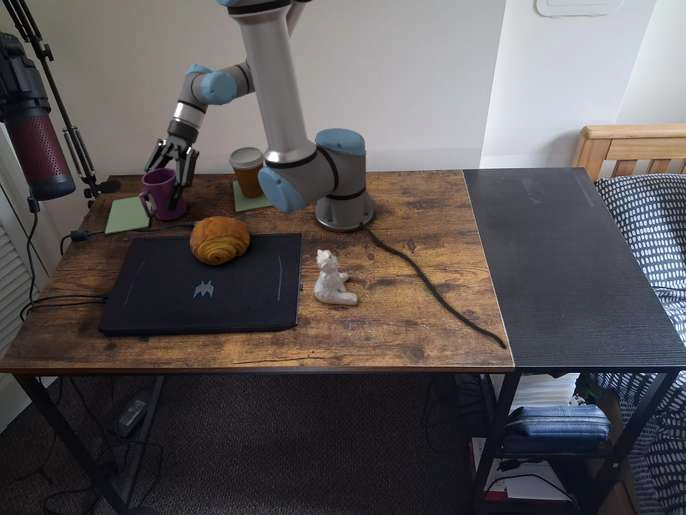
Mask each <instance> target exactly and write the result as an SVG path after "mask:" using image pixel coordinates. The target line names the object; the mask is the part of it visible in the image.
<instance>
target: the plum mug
mask: <svg viewBox="0 0 686 515" xmlns="http://www.w3.org/2000/svg"><path fill="white" fill-rule="evenodd" d="M141 183H142V186H143V188H144V189H145V191H144V190H143V192H140V193H139V194H138V197H139V198H140V201H141V203H142V206H143V208H144V211H145V213H146V216H147V217H148V218H150V219H151V217H153V216H155V218H156V219H158V220H161V221H172V220H175V219H179V218H180V217H182V216H183V215H184V214H186V212H187V211H188V205H187V201H186V198H185V196H184V192H183V193H182V196H181V198H180V200H178V203H177V206H176V209H175V211H171V210H168V209H165V206H166V204H167V201H168V198H169V195H170V192H171V189H172V186H173V185H174V183H176V170H175V169H173V168H170V167H165V168H160V169H155V170H152V171H150V172H148V173H146V172H145V173H144V175H143V176H142V177H141ZM175 186H176V185H175ZM146 195H147V196H148V199H149V201H150V204H151V206H152V208H151V212H150V211H149V209H148V206H147V203H146V201H145V198H144V197H145V196H146Z"/></svg>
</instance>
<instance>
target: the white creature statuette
mask: <svg viewBox="0 0 686 515" xmlns="http://www.w3.org/2000/svg"><path fill="white" fill-rule="evenodd" d="M331 252H332V251H330V250H329V249H327V250H326V249H324V250H321V249H317V256H316V257H315V259H316V260H317V262H316V265H317V266H318V269H319V270H320V272H319V273H318V274H319V276H318V278H317V280H316V282H315V285H314V286H313V293H314V296H315V298H316V299H318V300H319V301H320V302H322V303H324V304H329V305H330V304H335V305H346V306H347V305H348V306H355V305H356V306H357V304H358V295H357V294H355V293H352V292H350V291H347V288H346V286H345V284H344V283H345V282H347V280H349V274H348V273H347V272H346V271H345V272H340V271H339V270H338V268H339V267H340V263H339V261H338V257H337V256H335V255H333V254H332V253H331Z"/></svg>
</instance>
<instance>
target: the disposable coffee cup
mask: <svg viewBox="0 0 686 515" xmlns="http://www.w3.org/2000/svg"><path fill="white" fill-rule="evenodd" d="M264 162H265V160H264V152H262V150H261V149H260V148H258V147H255V146H245V147H240V148H237V149H236V150H233V151H232V152H231V153H230V155H229V159H228V163H229V165H230V166H231V167H232V169H233V173H234V176H235V178H236V181H238V183H239V186H240V188H241V191H242V194H243V196H244V197H247V198H256V197H259V196H261V195H263V193H264V192H263V190H262V188H261V186H260V183H259V179H258V174H259V171H260V170H261V169H262V168H263V167H265V166H264Z"/></svg>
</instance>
